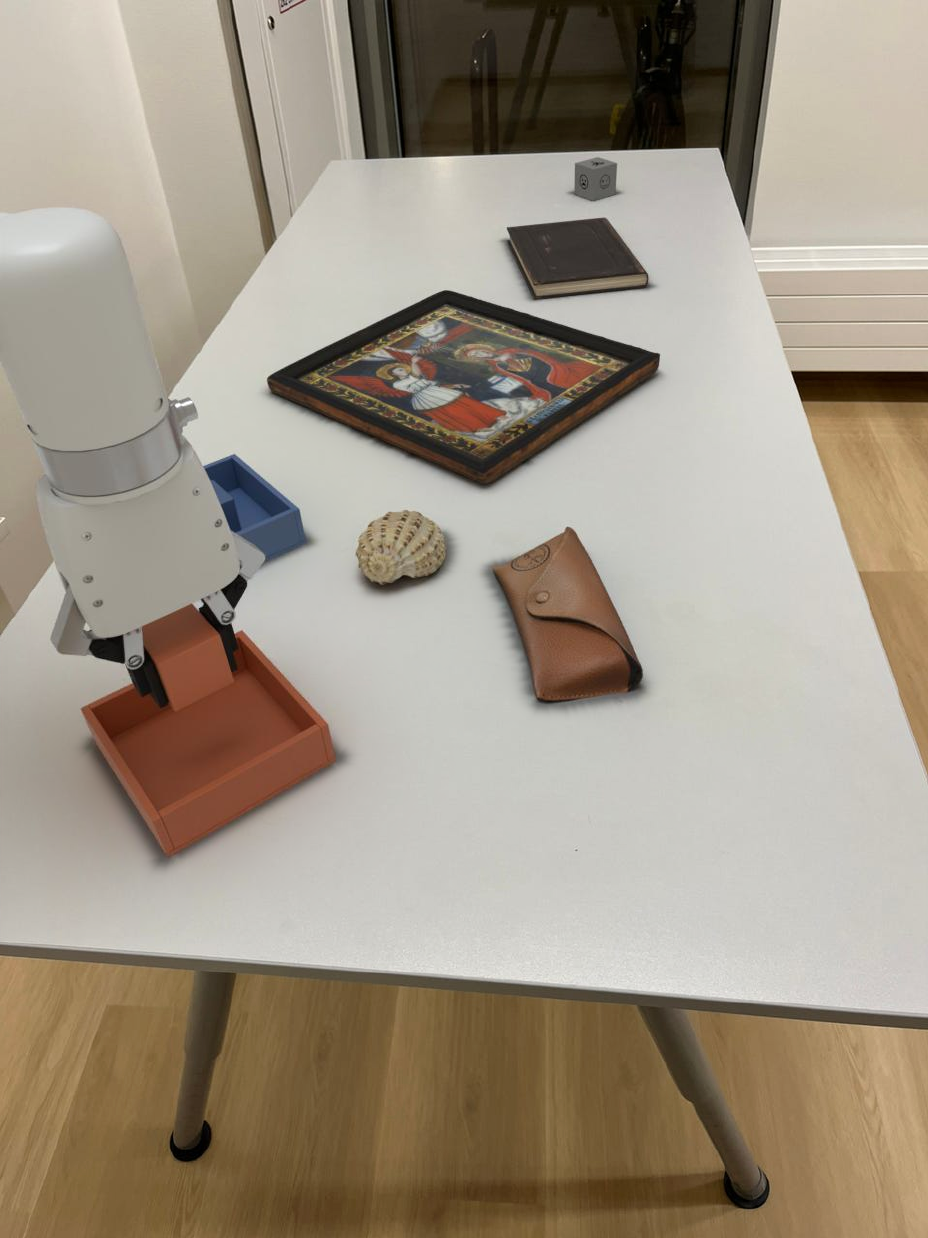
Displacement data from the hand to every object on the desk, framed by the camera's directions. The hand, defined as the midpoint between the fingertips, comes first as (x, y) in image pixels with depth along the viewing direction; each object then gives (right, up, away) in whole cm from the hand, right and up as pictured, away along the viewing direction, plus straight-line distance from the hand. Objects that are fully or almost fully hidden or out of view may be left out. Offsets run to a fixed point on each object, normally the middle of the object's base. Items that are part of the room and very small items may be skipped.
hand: (190, 676), depth 65 cm
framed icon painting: (+19, +32, +48) cm, 60 cm away
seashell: (+13, +9, +22) cm, 27 cm away
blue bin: (-5, +12, +26) cm, 29 cm away
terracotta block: (0, 0, 0) cm, 0 cm away
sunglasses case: (+27, +3, +14) cm, 31 cm away
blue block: (-5, +12, +26) cm, 29 cm away
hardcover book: (+35, +56, +75) cm, 100 cm away
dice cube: (+41, +77, +98) cm, 131 cm away
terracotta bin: (0, -6, +5) cm, 8 cm away
